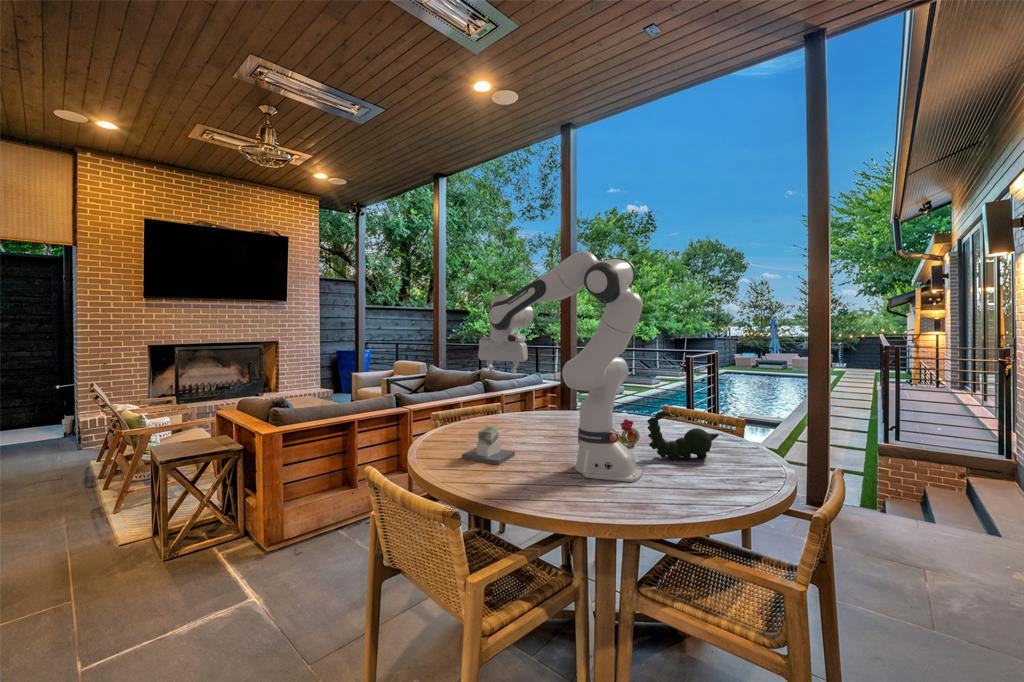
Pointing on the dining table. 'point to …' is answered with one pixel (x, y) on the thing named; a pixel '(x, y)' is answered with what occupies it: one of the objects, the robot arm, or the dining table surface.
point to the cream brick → (488, 448)
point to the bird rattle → (631, 436)
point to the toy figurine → (679, 441)
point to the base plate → (492, 459)
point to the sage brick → (488, 435)
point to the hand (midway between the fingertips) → (502, 372)
